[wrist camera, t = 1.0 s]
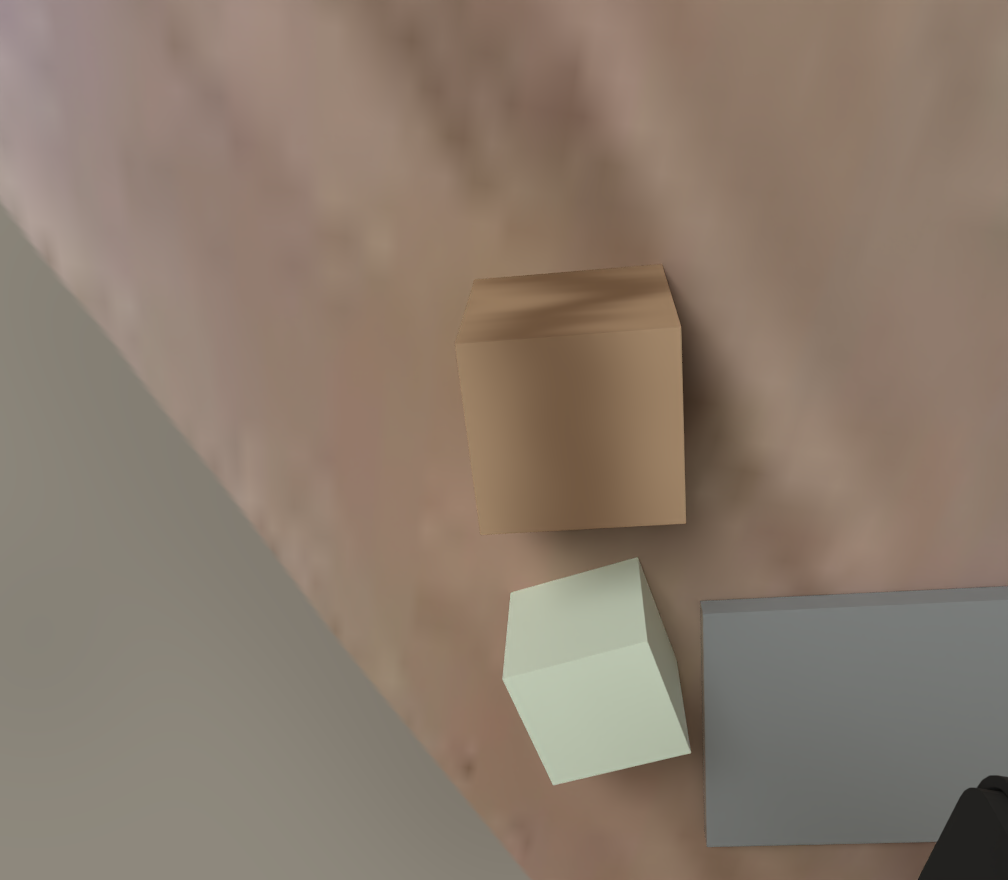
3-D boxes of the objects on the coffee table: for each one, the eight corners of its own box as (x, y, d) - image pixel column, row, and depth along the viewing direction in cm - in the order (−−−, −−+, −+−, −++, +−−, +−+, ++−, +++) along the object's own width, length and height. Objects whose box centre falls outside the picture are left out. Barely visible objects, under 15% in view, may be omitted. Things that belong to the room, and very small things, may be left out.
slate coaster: (1037, 584, 35) (1046, 597, 34) (997, 824, 40) (1005, 840, 39) (700, 601, 36) (702, 613, 35) (704, 831, 41) (706, 846, 40)
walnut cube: (661, 263, 30) (681, 326, 25) (667, 433, 33) (686, 523, 28) (474, 278, 31) (454, 344, 26) (494, 444, 34) (480, 535, 28)
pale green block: (637, 555, 35) (647, 641, 31) (676, 658, 37) (690, 753, 33) (510, 591, 36) (502, 679, 32) (555, 689, 38) (553, 785, 34)
